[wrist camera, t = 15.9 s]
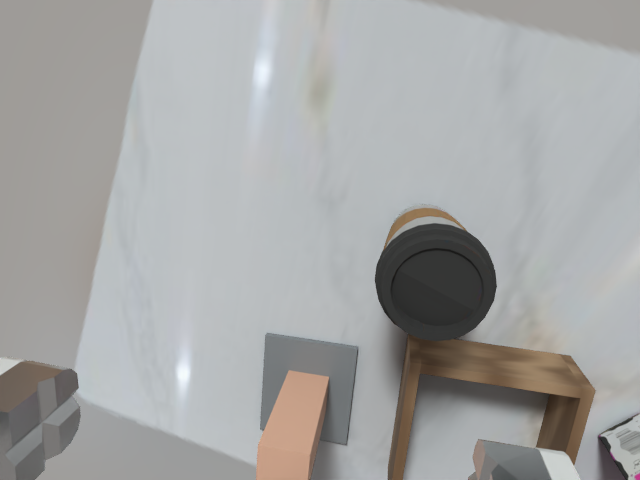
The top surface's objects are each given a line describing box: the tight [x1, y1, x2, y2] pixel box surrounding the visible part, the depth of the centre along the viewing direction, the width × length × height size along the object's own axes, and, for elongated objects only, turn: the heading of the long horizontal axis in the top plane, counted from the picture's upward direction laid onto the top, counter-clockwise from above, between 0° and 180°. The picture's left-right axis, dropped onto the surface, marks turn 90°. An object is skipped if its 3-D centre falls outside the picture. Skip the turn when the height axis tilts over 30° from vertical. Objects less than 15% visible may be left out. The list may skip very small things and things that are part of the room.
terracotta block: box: [256, 370, 329, 480], centre depth 45 cm, size 4×4×12 cm
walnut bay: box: [388, 334, 595, 480], centre depth 46 cm, size 16×17×6 cm
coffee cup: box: [375, 204, 497, 341], centre depth 38 cm, size 8×8×15 cm
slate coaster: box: [260, 333, 358, 444], centre depth 51 cm, size 10×12×1 cm
